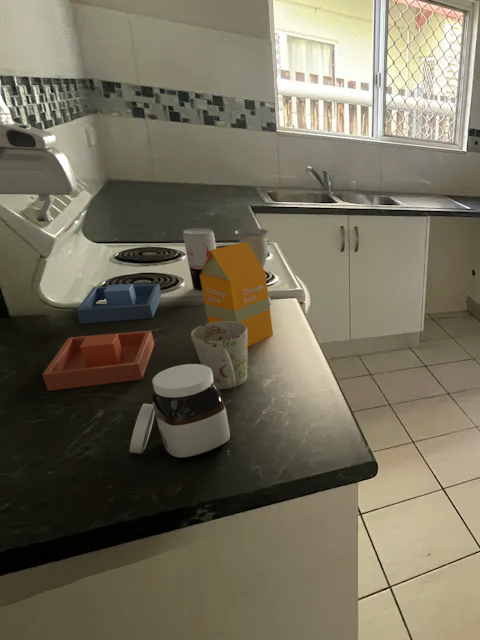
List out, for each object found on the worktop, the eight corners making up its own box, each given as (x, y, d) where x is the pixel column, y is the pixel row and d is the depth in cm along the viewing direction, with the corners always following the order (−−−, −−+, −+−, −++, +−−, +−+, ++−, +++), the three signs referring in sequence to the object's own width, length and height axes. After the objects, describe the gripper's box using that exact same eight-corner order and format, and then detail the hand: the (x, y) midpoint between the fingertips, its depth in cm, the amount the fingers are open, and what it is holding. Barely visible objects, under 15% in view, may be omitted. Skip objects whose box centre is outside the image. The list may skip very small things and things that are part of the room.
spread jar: (240, 450, 69) (228, 381, 64) (147, 487, 61) (125, 411, 56) (209, 414, 76) (196, 349, 71) (122, 443, 68) (101, 372, 63)
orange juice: (211, 341, 98) (193, 246, 89) (245, 327, 105) (232, 238, 97) (241, 350, 96) (226, 254, 87) (274, 334, 103) (262, 244, 95)
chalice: (247, 298, 120) (237, 227, 113) (277, 297, 122) (269, 228, 115) (244, 309, 114) (233, 235, 106) (275, 308, 116) (266, 235, 109)
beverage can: (219, 282, 128) (210, 227, 122) (225, 290, 124) (216, 233, 118) (191, 286, 124) (180, 229, 118) (196, 293, 120) (184, 235, 114)
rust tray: (48, 391, 77) (42, 374, 76) (73, 352, 89) (68, 337, 88) (142, 379, 83) (138, 363, 82) (154, 344, 95) (151, 330, 93)
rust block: (87, 369, 83) (79, 347, 81) (92, 358, 87) (86, 336, 85) (119, 366, 85) (112, 343, 83) (123, 355, 89) (117, 333, 87)
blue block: (109, 310, 105) (103, 291, 103) (113, 303, 109) (108, 284, 107) (134, 308, 107) (129, 290, 105) (137, 301, 111) (132, 283, 109)
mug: (247, 365, 91) (240, 317, 86) (266, 395, 82) (259, 344, 78) (197, 376, 86) (186, 326, 81) (211, 409, 77) (200, 355, 73)
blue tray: (80, 323, 100) (75, 310, 98) (96, 299, 111) (93, 287, 110) (153, 318, 105) (149, 305, 104) (161, 295, 117) (159, 283, 116)
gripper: (-135, 127, 67) (-92, 225, 72) (55, 138, 76) (80, 224, 82) (-109, 125, 72) (-71, 217, 77) (67, 135, 81) (89, 217, 87)
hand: (8, 221), depth 80 cm, fingers open, 8 cm apart
